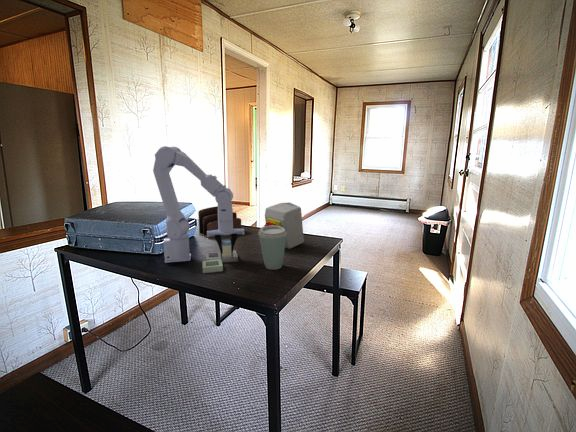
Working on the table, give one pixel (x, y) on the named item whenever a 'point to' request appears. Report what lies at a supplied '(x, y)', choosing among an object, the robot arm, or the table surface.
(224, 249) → the plug
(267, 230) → the disposable coffee cup
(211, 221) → the letter holder
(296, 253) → the table surface
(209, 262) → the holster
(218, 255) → the panel
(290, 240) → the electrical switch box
